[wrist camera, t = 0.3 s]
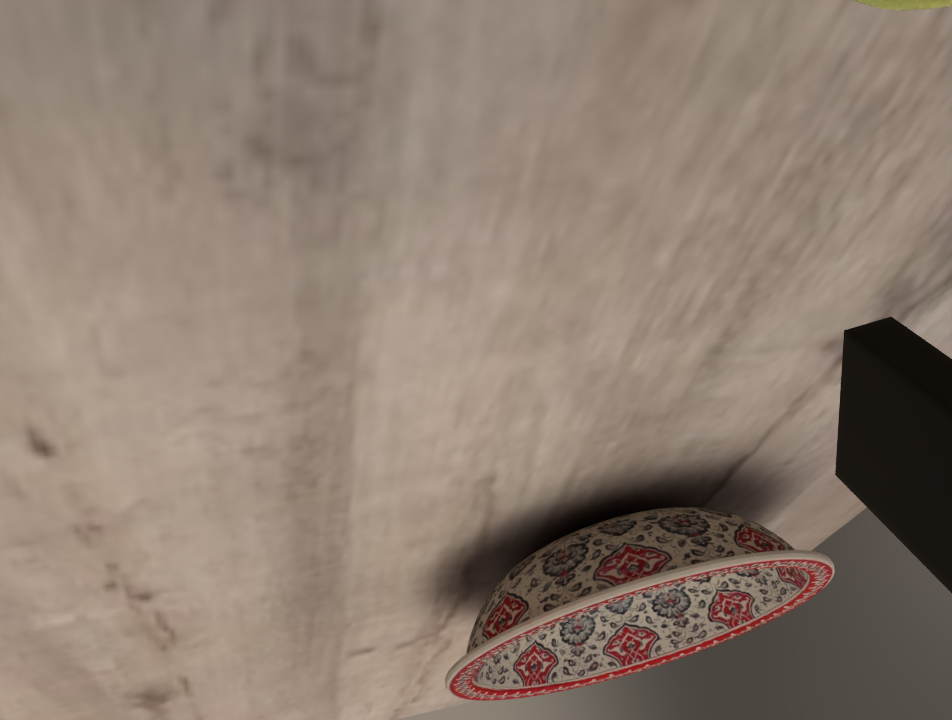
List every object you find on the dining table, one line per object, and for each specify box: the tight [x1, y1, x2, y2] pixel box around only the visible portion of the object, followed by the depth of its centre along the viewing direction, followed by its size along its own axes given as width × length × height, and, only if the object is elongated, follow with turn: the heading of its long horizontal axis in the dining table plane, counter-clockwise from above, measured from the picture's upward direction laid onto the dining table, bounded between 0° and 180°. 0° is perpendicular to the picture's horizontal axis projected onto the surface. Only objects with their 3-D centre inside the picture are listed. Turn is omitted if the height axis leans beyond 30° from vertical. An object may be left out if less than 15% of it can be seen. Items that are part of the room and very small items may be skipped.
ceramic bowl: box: [445, 507, 835, 700], centre depth 68 cm, size 29×29×8 cm
